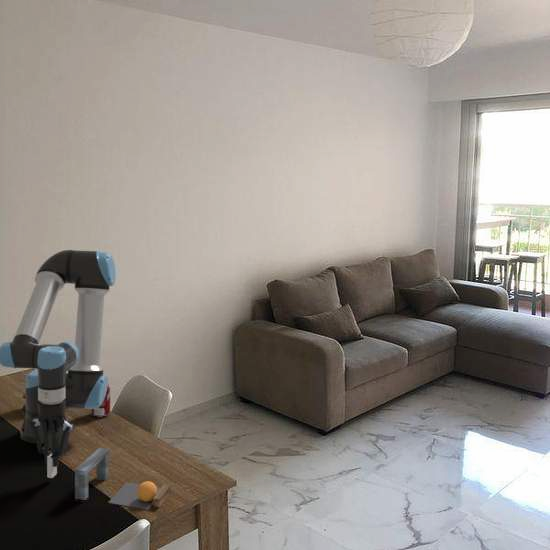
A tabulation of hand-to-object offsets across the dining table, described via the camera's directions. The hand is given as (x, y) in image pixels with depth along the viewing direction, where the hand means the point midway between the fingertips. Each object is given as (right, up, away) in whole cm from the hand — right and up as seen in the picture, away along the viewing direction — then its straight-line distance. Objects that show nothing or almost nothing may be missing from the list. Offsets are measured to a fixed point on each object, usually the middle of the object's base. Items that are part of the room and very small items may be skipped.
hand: (52, 475), depth 183 cm
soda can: (0, +6, +51) cm, 51 cm away
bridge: (+13, -3, -2) cm, 13 cm away
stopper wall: (+34, -5, -6) cm, 35 cm away
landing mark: (+26, -4, -5) cm, 27 cm away
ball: (+30, -2, -7) cm, 31 cm away
